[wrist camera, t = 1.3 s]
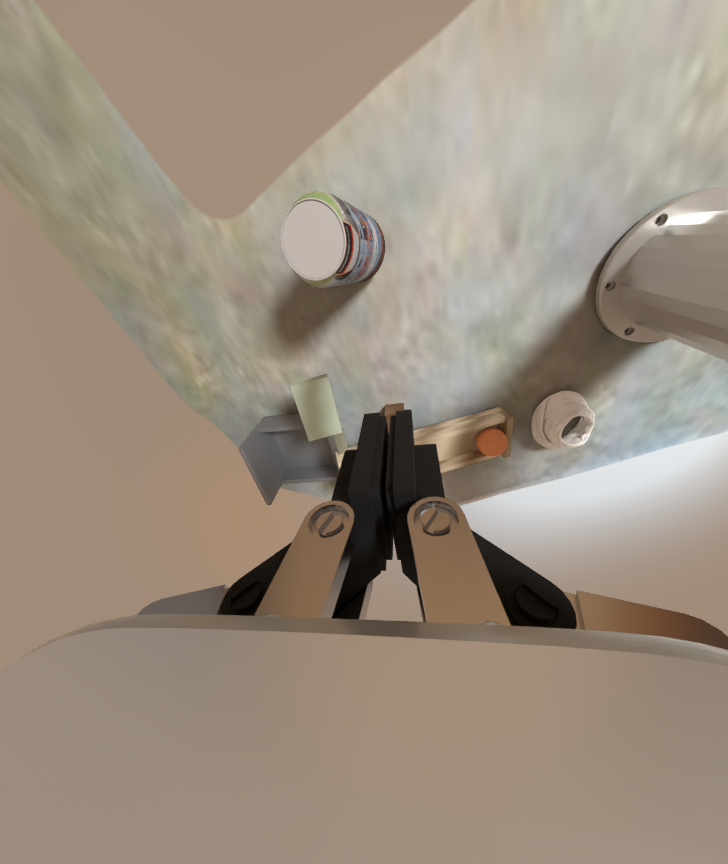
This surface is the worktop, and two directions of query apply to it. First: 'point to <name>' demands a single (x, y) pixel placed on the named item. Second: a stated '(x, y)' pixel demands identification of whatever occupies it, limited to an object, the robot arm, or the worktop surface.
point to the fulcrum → (392, 411)
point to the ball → (492, 442)
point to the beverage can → (331, 241)
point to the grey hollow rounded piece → (562, 420)
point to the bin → (287, 455)
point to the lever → (450, 436)
